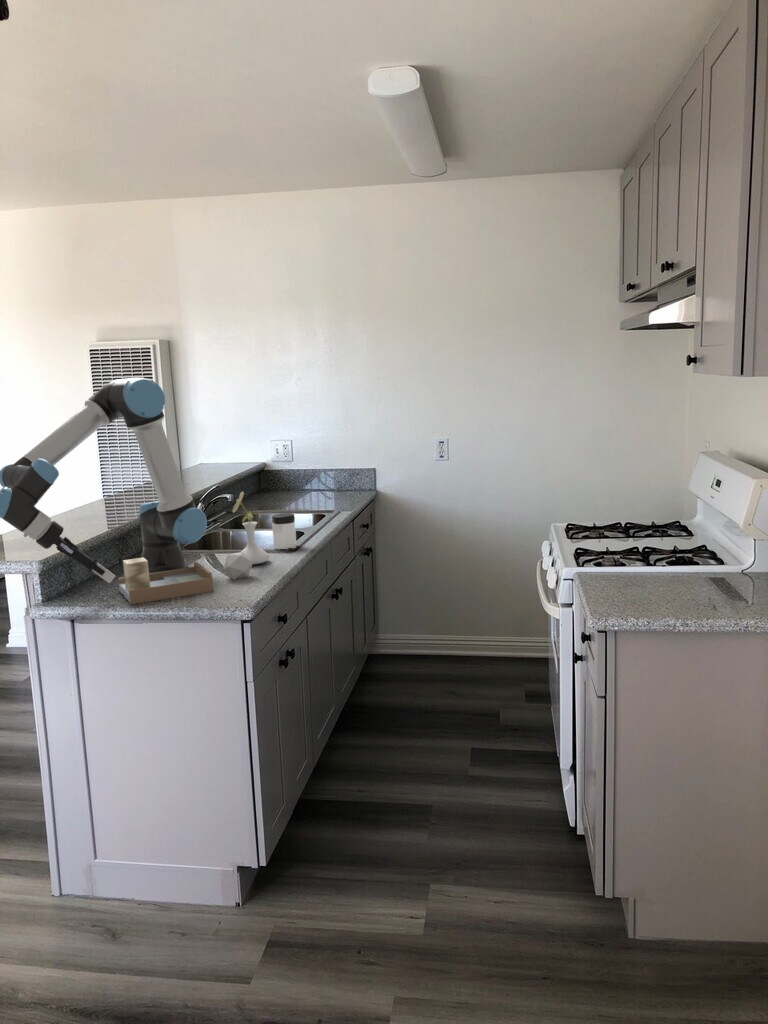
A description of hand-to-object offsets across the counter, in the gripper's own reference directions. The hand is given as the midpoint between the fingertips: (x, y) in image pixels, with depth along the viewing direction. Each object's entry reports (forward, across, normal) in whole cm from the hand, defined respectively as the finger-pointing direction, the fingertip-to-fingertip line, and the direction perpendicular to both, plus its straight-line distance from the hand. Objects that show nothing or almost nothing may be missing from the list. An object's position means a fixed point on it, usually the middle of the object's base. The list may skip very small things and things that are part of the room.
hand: (112, 579), depth 238 cm
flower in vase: (+38, -18, +29) cm, 51 cm away
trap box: (+15, 0, +6) cm, 16 cm away
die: (+31, -2, +23) cm, 39 cm away
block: (+7, 0, +2) cm, 8 cm away
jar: (+51, -35, +42) cm, 75 cm away
